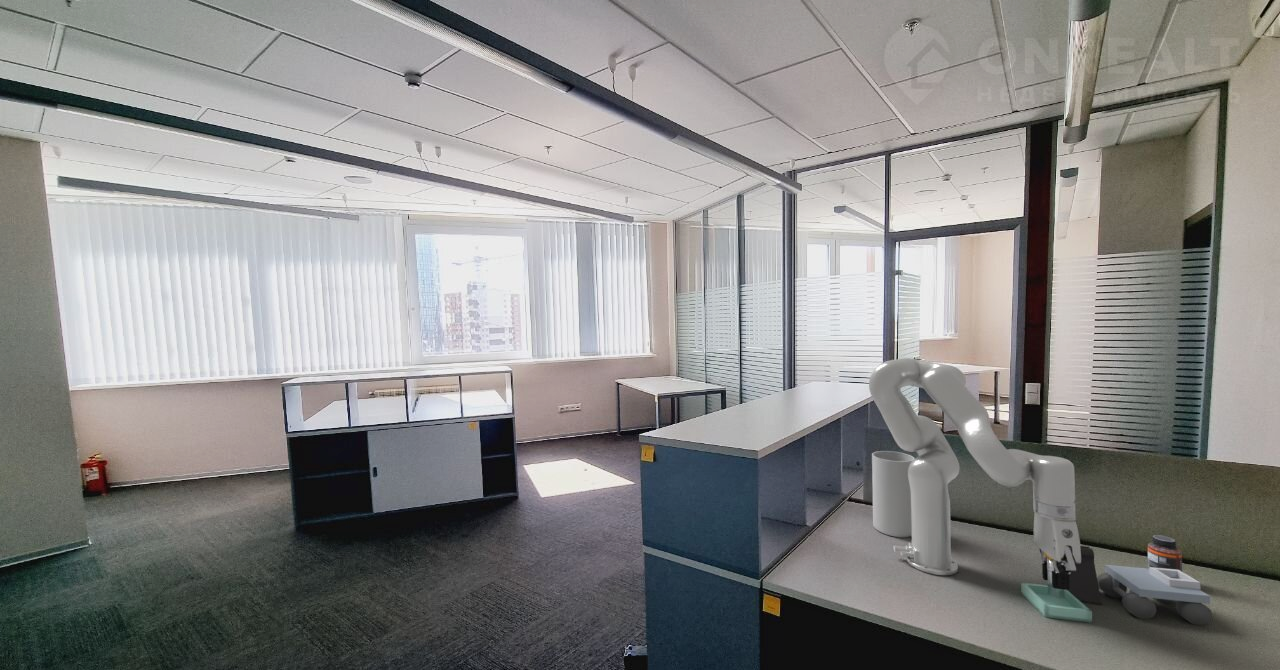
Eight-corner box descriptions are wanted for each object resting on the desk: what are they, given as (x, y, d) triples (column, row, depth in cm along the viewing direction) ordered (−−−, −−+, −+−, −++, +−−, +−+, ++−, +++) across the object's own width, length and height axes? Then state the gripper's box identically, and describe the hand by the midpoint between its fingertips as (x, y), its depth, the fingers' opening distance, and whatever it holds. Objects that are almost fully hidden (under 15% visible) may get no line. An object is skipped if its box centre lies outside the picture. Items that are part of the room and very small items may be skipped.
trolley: (1213, 627, 101) (1212, 589, 101) (1129, 617, 105) (1129, 581, 105) (1170, 598, 112) (1169, 564, 112) (1095, 590, 116) (1095, 557, 115)
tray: (1045, 617, 106) (1044, 606, 106) (1021, 592, 116) (1021, 582, 115) (1091, 622, 104) (1091, 611, 103) (1063, 597, 113) (1063, 587, 113)
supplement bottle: (1173, 577, 121) (1173, 535, 121) (1188, 589, 115) (1188, 545, 115) (1142, 572, 123) (1142, 531, 123) (1156, 583, 118) (1155, 541, 118)
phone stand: (1102, 605, 110) (1101, 556, 110) (1070, 600, 112) (1070, 552, 112) (1081, 585, 118) (1081, 539, 118) (1052, 581, 120) (1052, 536, 120)
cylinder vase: (907, 523, 157) (906, 451, 157) (921, 539, 145) (920, 462, 144) (868, 520, 160) (867, 450, 159) (879, 536, 148) (877, 460, 147)
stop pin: (1051, 598, 108) (1050, 556, 108) (1041, 589, 112) (1040, 548, 112) (1072, 600, 107) (1070, 558, 107) (1061, 590, 111) (1059, 550, 111)
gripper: (1097, 524, 100) (1099, 606, 100) (1051, 497, 116) (1053, 568, 116) (1056, 521, 102) (1058, 602, 102) (1017, 495, 118) (1018, 565, 118)
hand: (1055, 583), depth 109 cm, fingers closed on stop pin, 3 cm apart
